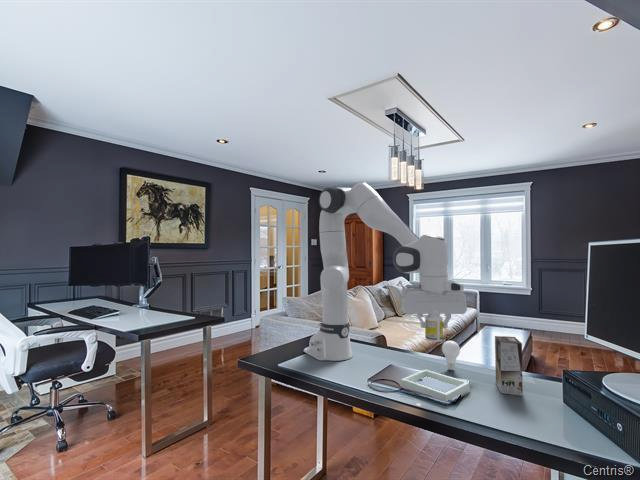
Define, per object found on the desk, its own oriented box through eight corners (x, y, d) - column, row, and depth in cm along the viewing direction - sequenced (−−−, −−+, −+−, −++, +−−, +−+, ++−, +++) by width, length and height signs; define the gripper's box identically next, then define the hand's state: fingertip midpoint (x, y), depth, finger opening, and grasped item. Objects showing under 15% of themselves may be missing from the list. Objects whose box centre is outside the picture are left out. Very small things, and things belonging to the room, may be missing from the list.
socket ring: (362, 384, 115) (362, 383, 115) (382, 376, 122) (382, 376, 122) (387, 395, 106) (387, 394, 106) (408, 386, 113) (408, 385, 113)
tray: (401, 388, 111) (401, 379, 112) (425, 377, 120) (425, 369, 121) (446, 405, 99) (446, 394, 99) (469, 392, 108) (469, 382, 108)
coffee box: (523, 396, 105) (522, 343, 106) (500, 393, 107) (499, 341, 108) (516, 385, 114) (515, 336, 115) (495, 382, 116) (494, 334, 116)
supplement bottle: (437, 337, 113) (437, 307, 114) (446, 341, 108) (446, 310, 108) (422, 337, 113) (422, 308, 113) (429, 342, 107) (430, 311, 108)
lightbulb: (460, 368, 130) (460, 339, 130) (459, 374, 124) (459, 343, 124) (442, 366, 132) (442, 337, 133) (441, 371, 126) (440, 341, 127)
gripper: (404, 285, 108) (404, 329, 107) (468, 285, 108) (469, 329, 107) (399, 283, 114) (399, 325, 114) (460, 283, 114) (460, 325, 114)
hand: (433, 327), depth 110 cm, fingers closed on supplement bottle, 5 cm apart
